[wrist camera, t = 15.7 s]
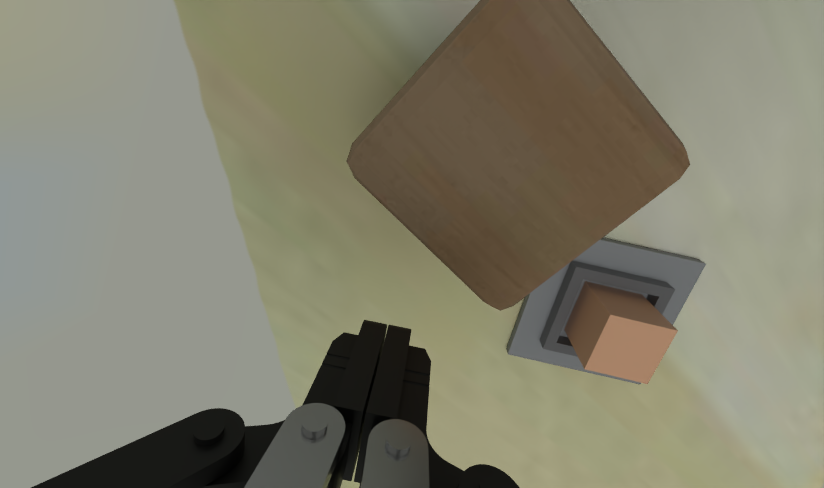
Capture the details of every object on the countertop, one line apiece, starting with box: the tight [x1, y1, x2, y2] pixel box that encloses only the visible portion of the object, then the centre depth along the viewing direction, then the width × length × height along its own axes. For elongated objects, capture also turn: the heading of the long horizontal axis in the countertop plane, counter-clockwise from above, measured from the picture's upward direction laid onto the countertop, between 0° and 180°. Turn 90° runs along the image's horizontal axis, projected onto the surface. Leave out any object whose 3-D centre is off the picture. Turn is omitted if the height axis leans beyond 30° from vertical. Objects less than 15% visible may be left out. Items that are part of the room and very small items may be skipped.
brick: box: [564, 281, 678, 384], centre depth 34 cm, size 6×6×6 cm
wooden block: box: [347, 0, 690, 310], centre depth 24 cm, size 10×10×20 cm
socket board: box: [507, 238, 706, 384], centre depth 37 cm, size 14×14×2 cm
